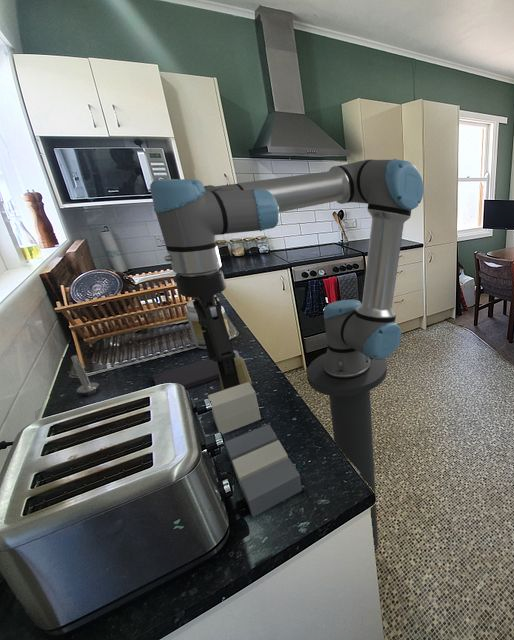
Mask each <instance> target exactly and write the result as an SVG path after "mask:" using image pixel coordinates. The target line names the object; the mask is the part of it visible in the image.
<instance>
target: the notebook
mask: <svg viewBox="0 0 514 640" xmlns="http://www.w3.org/2000/svg"><path fill="white" fill-rule="evenodd" d="M152 379H153V382H154V384H155V386H156V385H158V384H163V383H169V382H171V383H179V384H182V385H183V386H184V387H185V388H186V389H185V390H187V389H190V388H193V387H196V386H200V385H202V384H205V383H208V382H210V381H214V380H218V379H220V377H219V369H218V364H217V361H216V362H214V361H213V360H210V359H209V358H206V359H203V360H199V361H195V362H193V363H189V364H186V365H183V366H182V365H181V366H179V367H175V368H172V369H169V370H165V371H162V372H159V373H155V374H153V375H152Z"/></svg>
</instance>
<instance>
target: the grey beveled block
mask: <svg viewBox="0 0 514 640" xmlns="http://www.w3.org/2000/svg"><path fill="white" fill-rule="evenodd" d="M240 482H241V486H242V489H243V492H242V493H243V496H244V500H245V501H246V504H247V506H248V510H249V512H250V514H251V517H252V518H255V517H256V516H258V515H259V514H261V513H263V512H265V511H267V510H269V509H271V508H273V507H274V506H276V505H278V504H280V503H281V502H283V501H285V500H288V499H289V498H292V496H294V495H296V494H298V493H300V492H303V486H302V481H301V475H300V473H299V471H298V469H297V468H296V467H295V465H294V463H293V461H292V460H291V458H290V457H288V459H286V460H284V461H282V462H280V463H278V464H276V465H273V466H271V467H269V468H267V469H265V470H263V471H261V472H259V473H257V474H255V475H253V476H251V477H248V478H246V479H244V480H242V481H240ZM242 489H241V490H242Z"/></svg>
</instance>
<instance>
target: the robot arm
mask: <svg viewBox="0 0 514 640" xmlns="http://www.w3.org/2000/svg"><path fill="white" fill-rule="evenodd" d="M149 190H150V194H151V199H152V204H153V211H154V213H155V214H156V218H157V221H158V224H159V228H160V231H161V235H162V238H163V241H164V244H165V248H166V251H167V254H168V255H165V256H164V261H165V262H170V265H171V269H172V272H173V273H175V275H174V277H173V278H174V281H175V285H176V288H177V291H178V294H179V295H180V296H181V297H185V298H193V300H194V301H193V305H194V308H195V310H196V313H197V315H198V320H199V322H198V323H199V324H200V325H201V329H202V331H205V332H202V333H203V337H204V341H205V344H206V348H207V349H206V352H207V355H208V359H210V360H213V361H214V362H216V361H217V364H218V368H219V372H220V376H221V379H222V383H223V387H224V389H228V388H231V387H234V386H237V385H240V382H239V378H238V374H237V369H236V365H235V361H234V358H235V353H234V351H233V350H234V348H233V345H232V341H231V338H229V335H228V331H227V328H226V325H225V322H224V317H223V314H222V311H221V309H222V308H221V306H222V304H221V301H220V300H219V301H218V300H217V298H218V297H217V296H216V295H217V294H220V293H223V292H224V291H225V290H226V287H227V285H226V281H225V275H224V272H223V270H222V269H220V268H222V262H221V256H220V252H219V248H218V243H217V240H216V236H223V235H228V234H237V233H247V232H258V231H259V232H262V231H265V230H270V229H271V230H272V229H274V228H276V227H277V225H278V224H279V221H280V213H283V212H288V211H294V210H298V209H304V208H309V207H315V206H319V205H324V204H329V203H333V202H336V203H337V204H340V205H344V204H349V203H356V204H367V212H368V214H369V215H370V216H371V223H370V225H371V227H370V234H369V241H368V250H367V258H366V267H365V276H364V282H363V292H362V300H361V301H360V300H358V299H342V300H336V301H333V302H330V303H328V304H327V305H326V306H325V307H324V309H323V319H324V328H325V337H326V345H327V349H326V352H325V353H326V357H325V361H324V371H325V373H326V374H327V375H328V376H330V377H332V378H335V379H352V378H356V377H359V376H361V375H363V374H365V373H366V372H367V371H368V370H369V369H370V366H371V364H370V359H376V360H381V359H385V360H386V359H387V358H389V357H390V356H391V355H392V354H393V353H394V352H395V351H396V350H397V348H398V347H399V346H400V343H401V341H402V340H401V339H402V329H401V328H400V326H399V325H398V324H397V323H396V318H397V313H396V311H395V310H394V308H393V302H394V294H395V288H396V282H397V281H396V280H397V275H398V266H399V259H400V253H401V247H402V240H403V239H402V237H403V232H404V224H405V223H406V222H407V221H409V220H410V218H411V216H412V210H414V209H416V208H417V207H419V204H420V203H421V202H422V200H423V197H424V181H423V178H422V175H421V173H420V170H419V169H418V168H417V167H416V165H415V164H414V163H412V162H410V161H408V160H403V159H397V158H393V159H364V160H359V161H355V162H351V163H346V164H341V165H334V166H331V167H330V168H329V169H328V170H327V171H321V172H314V173H306V174H305V173H304V174H298V175H297V174H296V175H291V176H290V175H289V176H281V177H275V178H268V179H260V180H252V181H244V182H237V183H230V184H223V185H211V184H209V185H204V183H203V182H202V181H201V180H199V179H191V178H189V179H187V178H183V179H182V178H175V179H174V178H162V179H161V178H160V179H155V180H153V181H152V182H151V183H150V185H149Z"/></svg>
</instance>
